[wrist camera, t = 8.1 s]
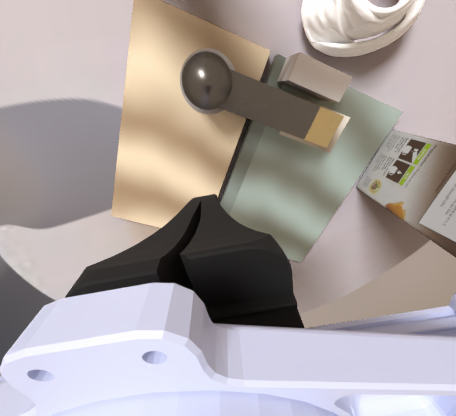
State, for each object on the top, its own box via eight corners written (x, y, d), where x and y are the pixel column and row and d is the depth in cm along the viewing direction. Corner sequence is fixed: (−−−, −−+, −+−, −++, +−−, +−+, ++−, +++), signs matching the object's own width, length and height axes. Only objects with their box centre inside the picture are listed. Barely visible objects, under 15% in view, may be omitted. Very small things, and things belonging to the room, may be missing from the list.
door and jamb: (298, 256, 27) (310, 281, 24) (115, 210, 23) (96, 233, 19) (394, 111, 19) (434, 115, 16) (139, -6, 15) (116, -36, 11)
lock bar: (183, 98, 17) (176, 99, 14) (193, 50, 15) (188, 42, 12) (312, 145, 19) (327, 154, 16) (331, 108, 17) (352, 111, 15)
